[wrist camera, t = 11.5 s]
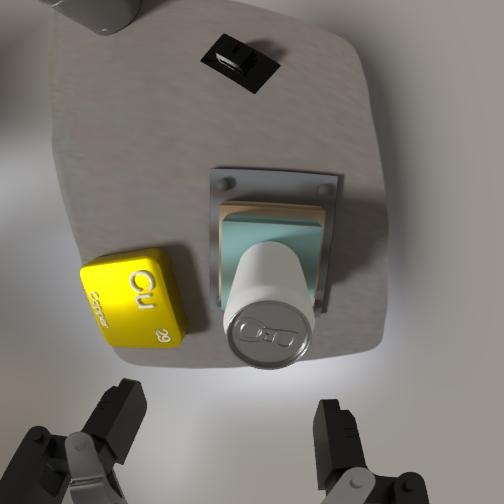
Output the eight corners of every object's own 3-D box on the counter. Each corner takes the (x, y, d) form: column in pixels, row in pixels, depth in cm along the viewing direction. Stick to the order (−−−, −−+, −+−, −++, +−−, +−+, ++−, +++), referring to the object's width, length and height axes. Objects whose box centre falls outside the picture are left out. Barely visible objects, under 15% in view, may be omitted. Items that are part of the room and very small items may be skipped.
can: (247, 232, 28) (232, 282, 16) (309, 250, 28) (334, 309, 16) (231, 288, 30) (210, 361, 18) (289, 304, 30) (297, 381, 19)
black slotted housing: (292, 68, 30) (295, 56, 26) (259, 107, 32) (257, 99, 28) (219, 26, 29) (213, 12, 24) (187, 63, 31) (176, 52, 27)
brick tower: (212, 168, 35) (193, 170, 26) (335, 176, 34) (355, 180, 25) (212, 307, 41) (197, 342, 32) (319, 314, 40) (328, 350, 32)
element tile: (90, 257, 41) (73, 267, 36) (167, 244, 39) (154, 255, 34) (117, 334, 45) (106, 349, 40) (191, 332, 43) (184, 350, 39)
